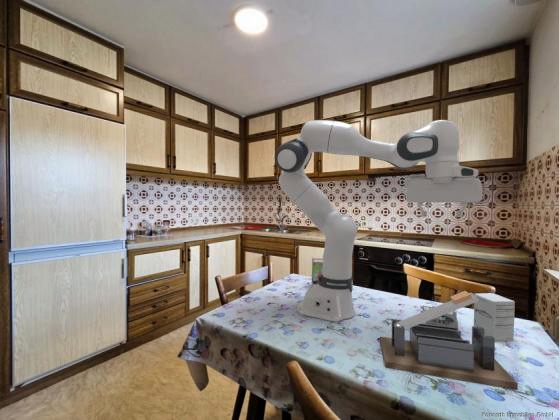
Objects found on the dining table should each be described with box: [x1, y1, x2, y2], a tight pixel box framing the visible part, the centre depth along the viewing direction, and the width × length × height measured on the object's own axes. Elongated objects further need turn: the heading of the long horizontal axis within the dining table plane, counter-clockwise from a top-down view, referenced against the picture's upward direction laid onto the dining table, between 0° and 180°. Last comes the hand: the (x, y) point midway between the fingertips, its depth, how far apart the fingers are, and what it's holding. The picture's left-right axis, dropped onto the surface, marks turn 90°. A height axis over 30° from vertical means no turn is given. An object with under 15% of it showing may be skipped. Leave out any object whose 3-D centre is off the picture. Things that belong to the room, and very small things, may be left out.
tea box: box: [311, 257, 323, 288], centre depth 126 cm, size 15×10×15 cm
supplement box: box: [473, 292, 516, 342], centre depth 81 cm, size 7×7×13 cm
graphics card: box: [419, 305, 459, 329], centre depth 89 cm, size 17×4×12 cm
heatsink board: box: [379, 318, 519, 391], centre depth 67 cm, size 28×13×10 cm, turn 74°
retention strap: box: [394, 290, 479, 331], centre depth 67 cm, size 22×3×2 cm, turn 74°
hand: (441, 216), depth 78 cm, fingers open, 8 cm apart
